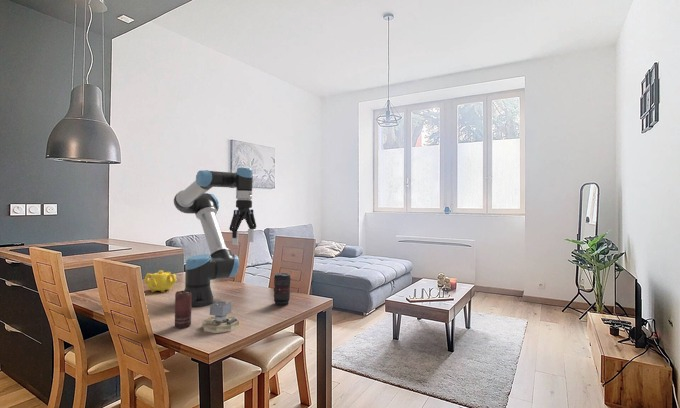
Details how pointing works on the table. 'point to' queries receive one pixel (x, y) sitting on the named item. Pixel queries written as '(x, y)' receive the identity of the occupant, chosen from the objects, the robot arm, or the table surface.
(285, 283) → the camera lens
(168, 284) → the teapot
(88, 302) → the table surface
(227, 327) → the ring
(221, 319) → the bushing
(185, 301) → the can
